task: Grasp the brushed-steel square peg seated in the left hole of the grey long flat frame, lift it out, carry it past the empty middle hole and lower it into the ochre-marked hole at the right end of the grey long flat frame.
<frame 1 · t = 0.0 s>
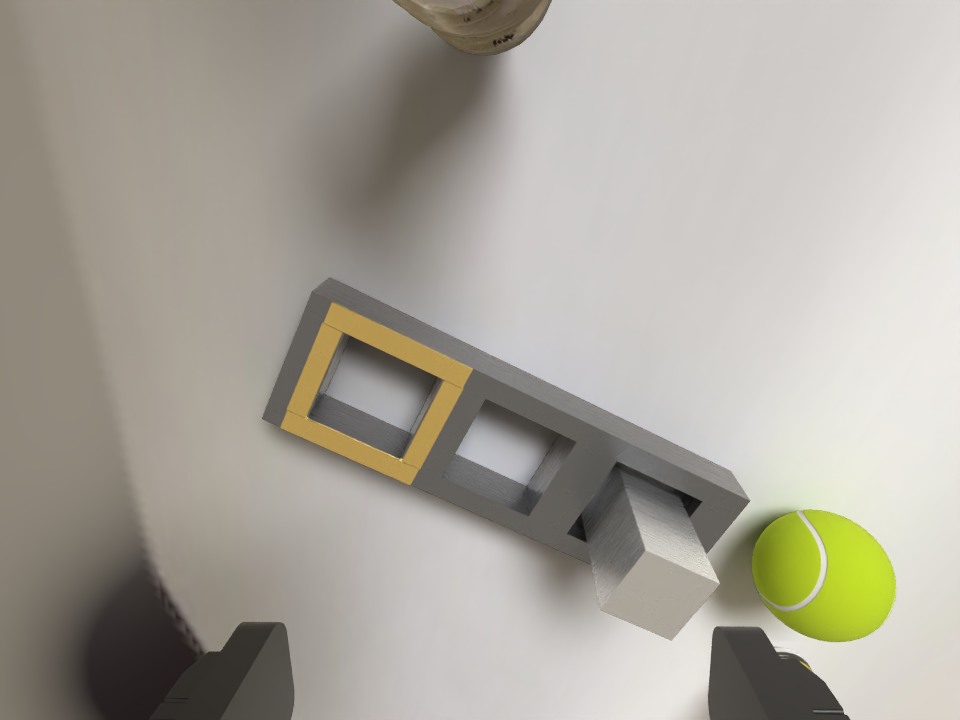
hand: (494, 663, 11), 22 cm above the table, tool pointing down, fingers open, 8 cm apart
tennis ball: (790, 531, 36), on the table
brushed metal square block: (623, 487, 35), resting in grey long flat frame
grey long flat frame: (507, 433, 34), on the table
beige stone carving: (486, 10, 26), on the table
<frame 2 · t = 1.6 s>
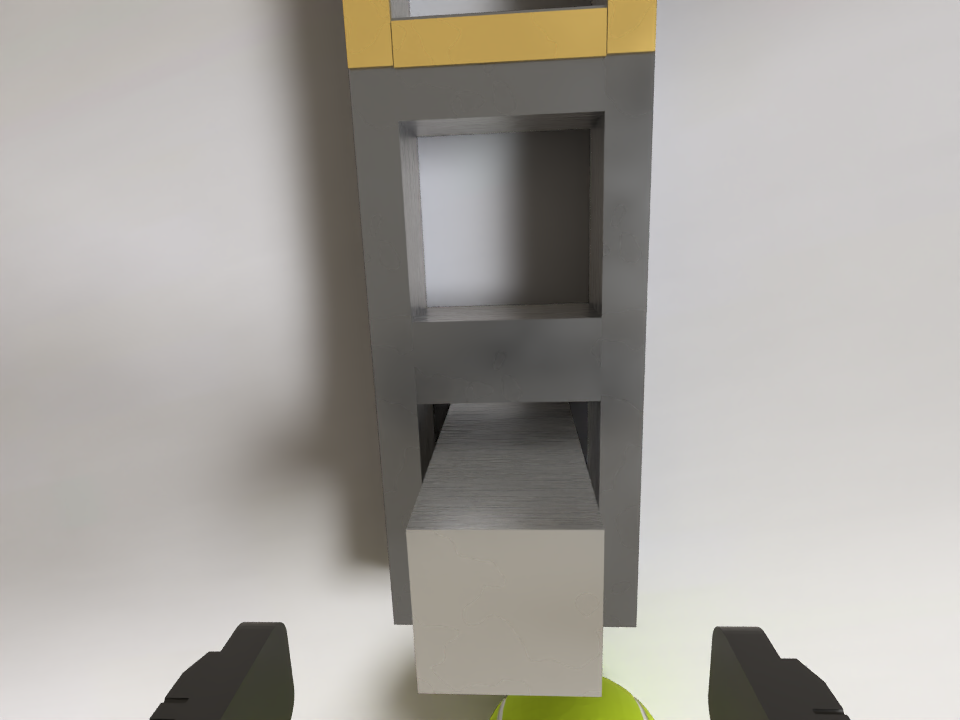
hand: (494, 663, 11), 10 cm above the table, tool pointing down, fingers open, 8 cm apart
tennis ball: (566, 698, 23), on the table
brushed metal square block: (510, 449, 21), resting in grey long flat frame
grey long flat frame: (505, 221, 19), on the table
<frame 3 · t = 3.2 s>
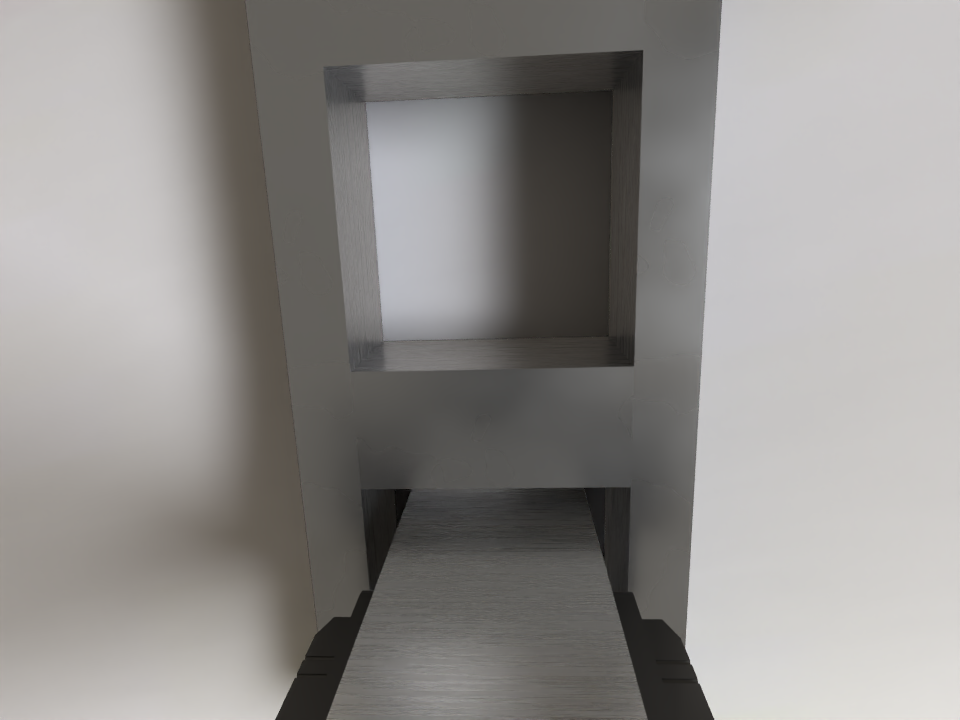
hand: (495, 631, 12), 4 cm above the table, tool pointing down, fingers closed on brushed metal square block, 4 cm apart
brushed metal square block: (500, 532, 15), resting in grey long flat frame, touching gripper
grey long flat frame: (491, 223, 13), on the table
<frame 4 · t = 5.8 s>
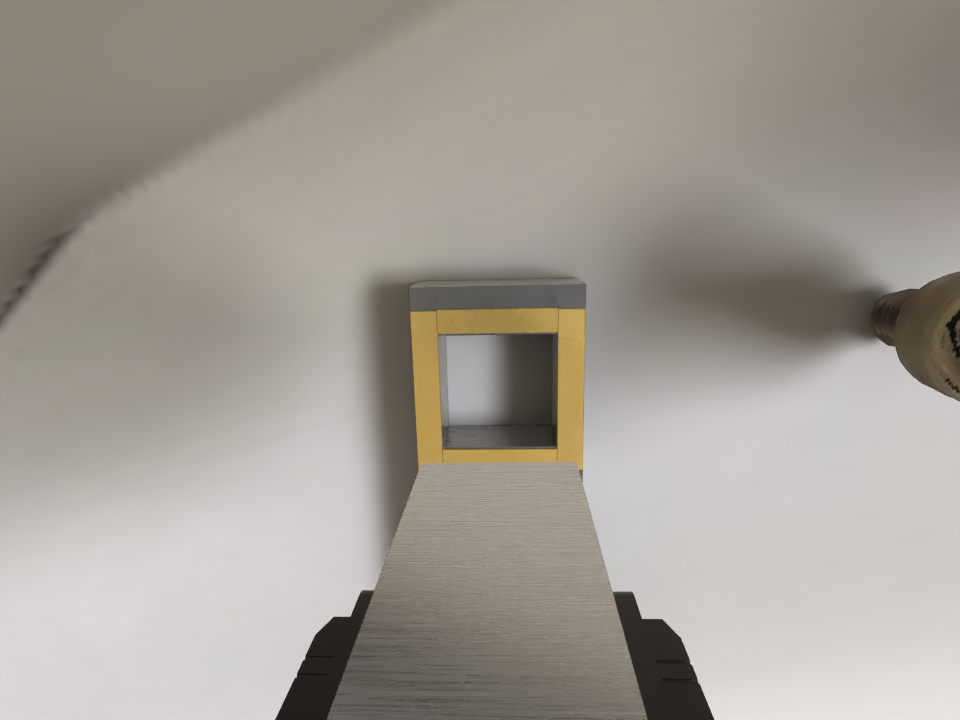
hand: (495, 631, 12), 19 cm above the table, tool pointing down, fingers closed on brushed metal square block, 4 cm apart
brushed metal square block: (500, 532, 15), point 15 cm above the table, touching gripper
grey long flat frame: (501, 515, 32), on the table
beige stone carving: (880, 311, 28), on the table
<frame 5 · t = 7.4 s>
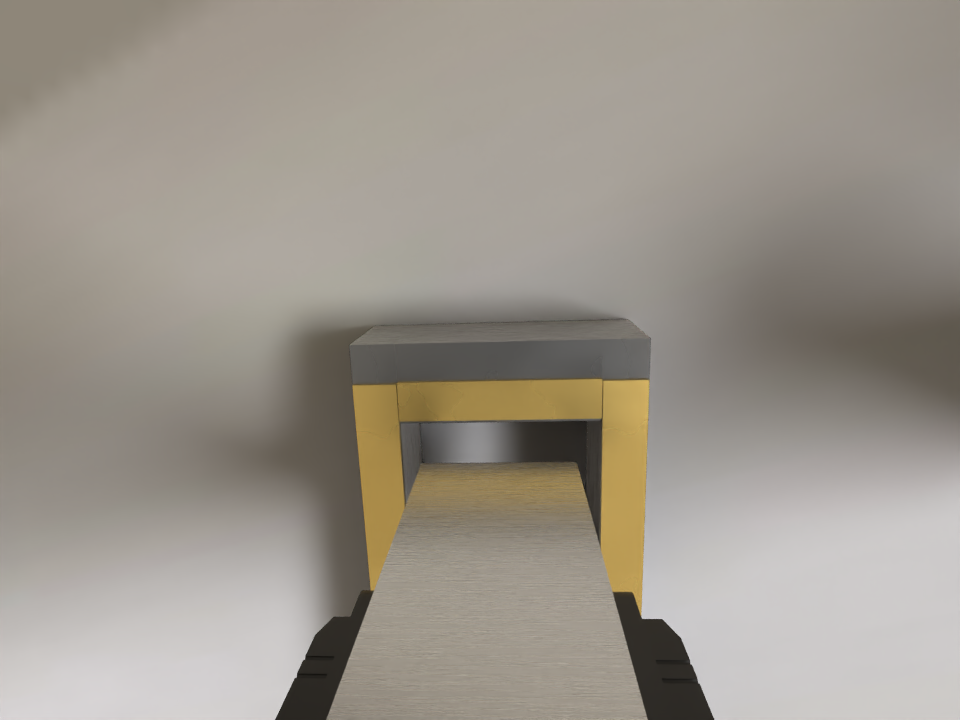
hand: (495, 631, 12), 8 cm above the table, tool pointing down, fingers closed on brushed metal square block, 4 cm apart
brushed metal square block: (500, 532, 15), point 4 cm above the table, touching gripper
grey long flat frame: (509, 670, 21), on the table
when the fingers open (5 cm above the table, at t = 8.6 s): brushed metal square block drops 1 cm, resting in grey long flat frame.
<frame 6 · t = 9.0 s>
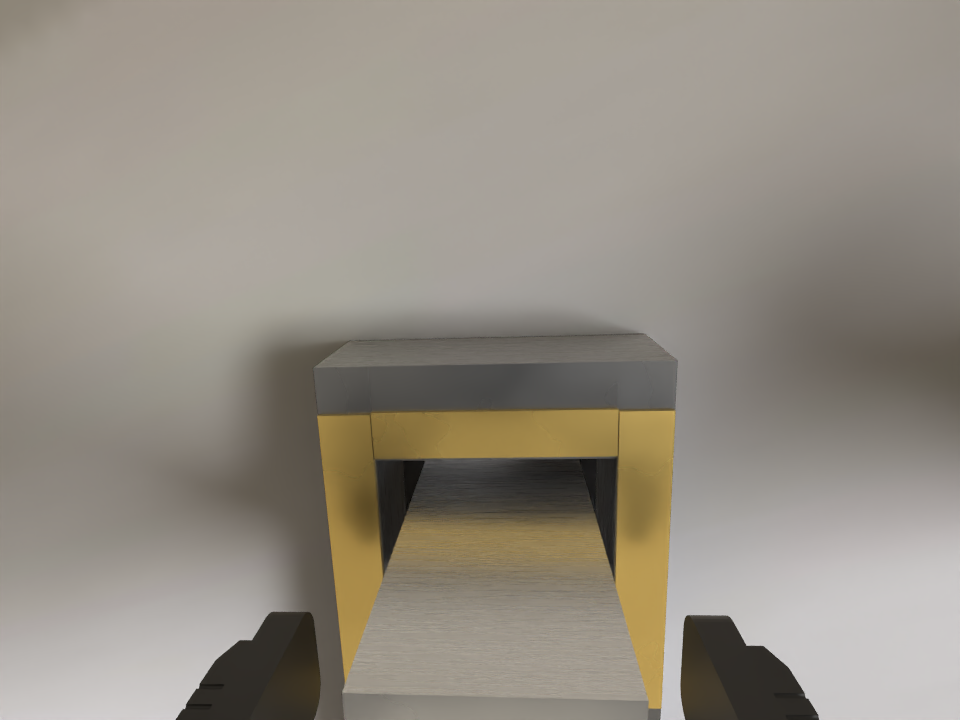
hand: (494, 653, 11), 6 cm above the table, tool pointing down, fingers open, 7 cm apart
brushed metal square block: (503, 505, 17), resting in grey long flat frame
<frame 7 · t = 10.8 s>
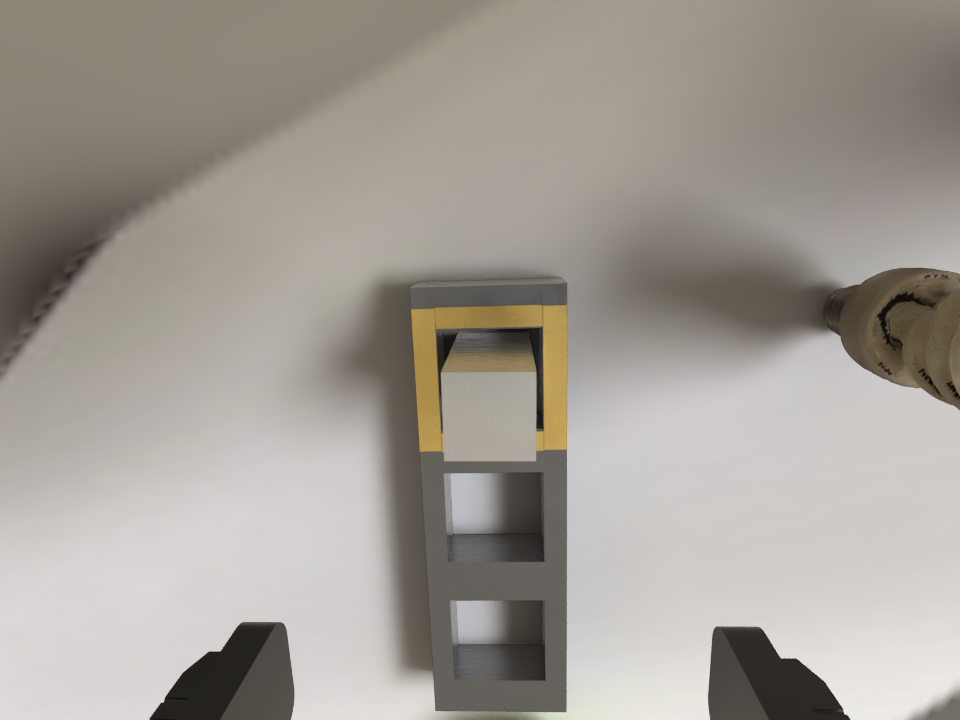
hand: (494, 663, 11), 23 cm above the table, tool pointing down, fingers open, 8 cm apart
brushed metal square block: (493, 366, 33), resting in grey long flat frame
grey long flat frame: (495, 493, 35), on the table
beige stone carving: (833, 305, 32), on the table
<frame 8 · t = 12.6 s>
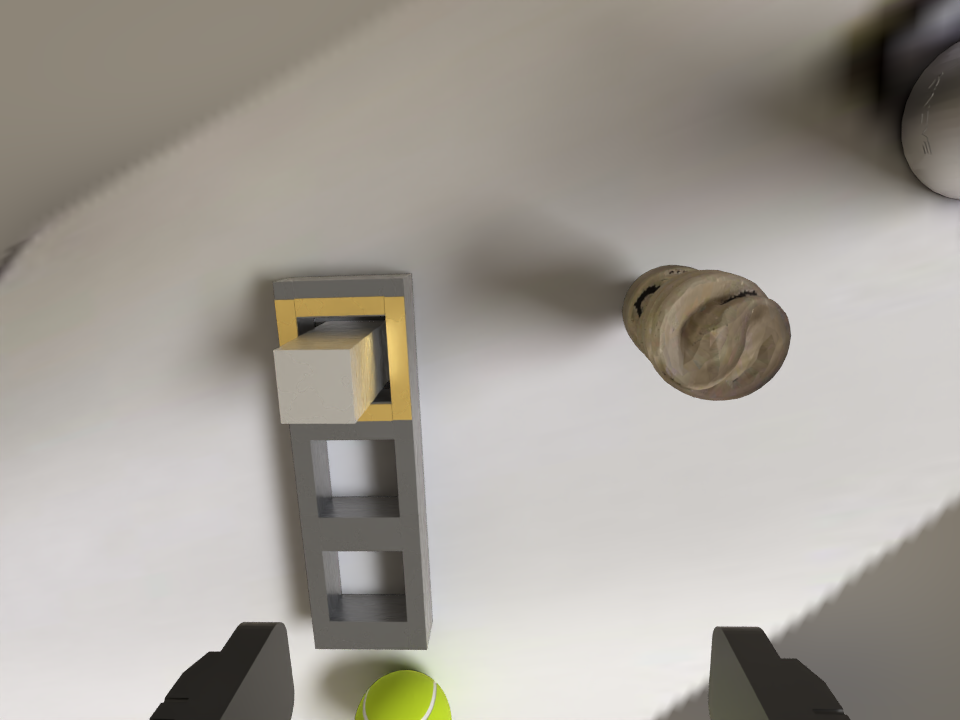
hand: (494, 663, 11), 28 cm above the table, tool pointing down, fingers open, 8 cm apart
tennis ball: (411, 684, 45), on the table
brushed metal square block: (358, 350, 39), resting in grey long flat frame
grey long flat frame: (366, 460, 40), on the table
beige stone carving: (644, 297, 37), on the table
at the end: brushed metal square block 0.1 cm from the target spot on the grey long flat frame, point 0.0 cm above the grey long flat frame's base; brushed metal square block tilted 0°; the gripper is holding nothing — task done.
